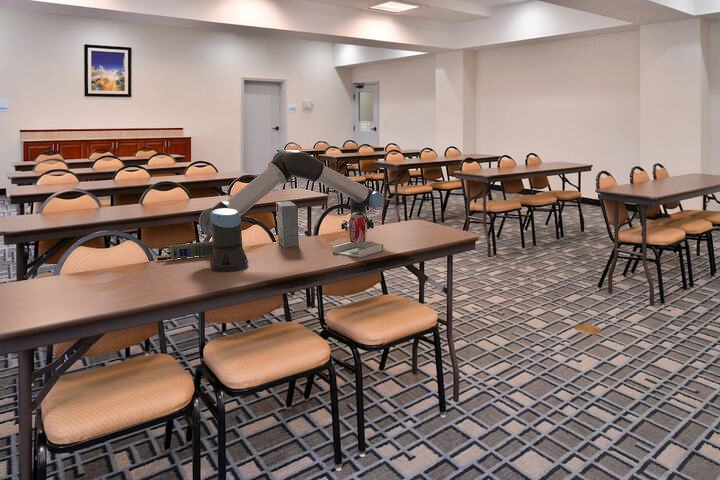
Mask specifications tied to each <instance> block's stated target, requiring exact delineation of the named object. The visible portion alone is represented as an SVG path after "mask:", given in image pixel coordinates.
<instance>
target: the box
mask: <svg viewBox="0 0 720 480" xmlns="http://www.w3.org/2000/svg"><path fill="white" fill-rule="evenodd" d="M331 249H332V251H331V252H332V254H335V255H340V256H347V257H353V258H359V259H360V258H364V257H367V256H371V255H374V254H378V253H381V252H383V251H384V244H383V243H377V242H375V243H374V242H368V241H365V242H364V243H361V244H353V243H352V242H350V241H349V242H344V243H342V244H338V245H337V244H336V245H333V246H332V247H331Z"/></svg>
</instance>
